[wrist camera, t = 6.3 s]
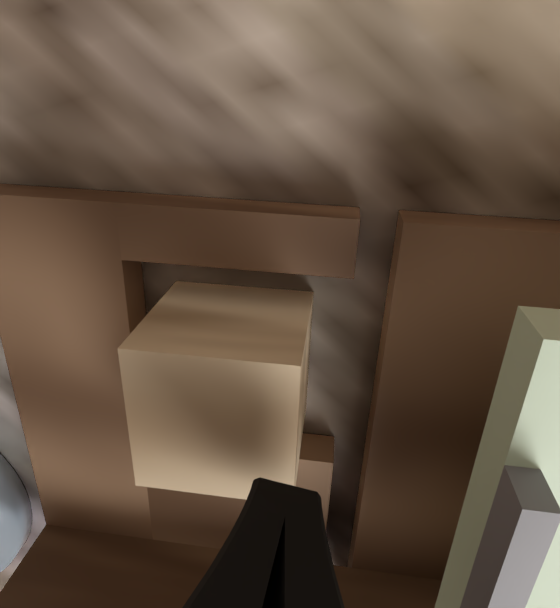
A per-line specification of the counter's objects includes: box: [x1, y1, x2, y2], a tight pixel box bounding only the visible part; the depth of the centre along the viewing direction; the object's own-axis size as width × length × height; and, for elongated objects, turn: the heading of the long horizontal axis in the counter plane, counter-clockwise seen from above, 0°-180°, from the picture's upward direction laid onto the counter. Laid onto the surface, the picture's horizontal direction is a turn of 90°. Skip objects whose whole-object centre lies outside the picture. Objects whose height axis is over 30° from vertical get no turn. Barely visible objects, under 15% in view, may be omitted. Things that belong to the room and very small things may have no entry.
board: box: [0, 184, 560, 608], centre depth 13 cm, size 14×21×4 cm, turn 88°
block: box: [117, 281, 314, 500], centre depth 13 cm, size 4×4×4 cm
